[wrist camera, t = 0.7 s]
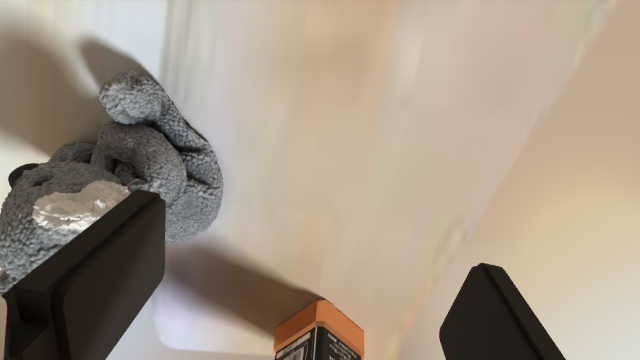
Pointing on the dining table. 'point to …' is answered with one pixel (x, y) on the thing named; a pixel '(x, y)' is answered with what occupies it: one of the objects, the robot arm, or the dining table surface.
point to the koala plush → (110, 178)
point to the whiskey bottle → (319, 335)
